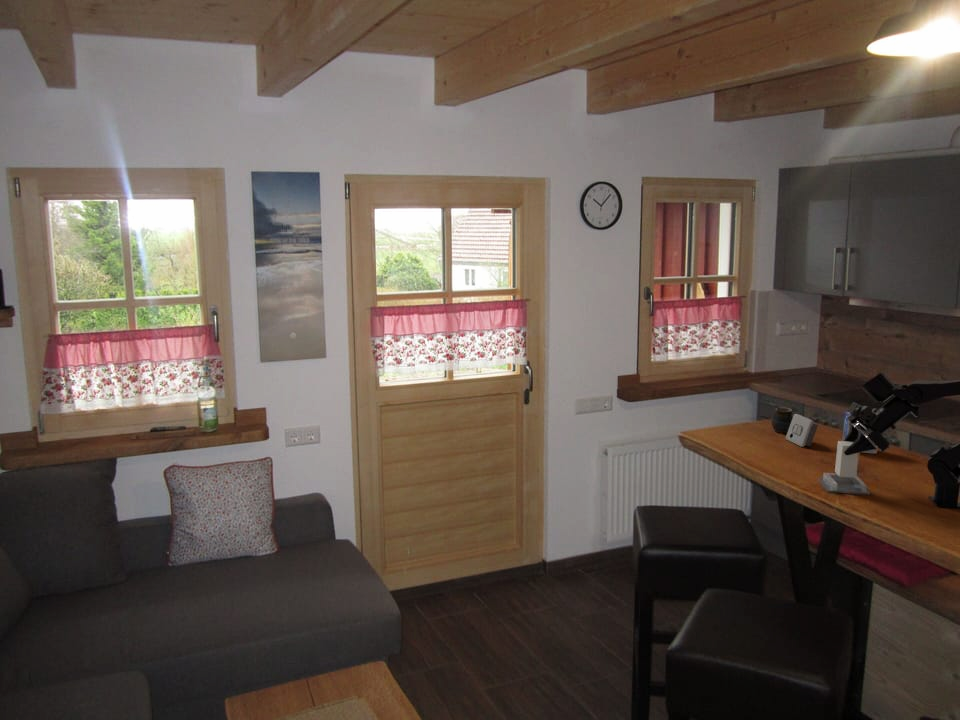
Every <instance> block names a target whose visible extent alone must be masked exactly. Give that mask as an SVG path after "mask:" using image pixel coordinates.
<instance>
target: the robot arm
mask: <svg viewBox="0 0 960 720" xmlns="http://www.w3.org/2000/svg"><path fill="white" fill-rule="evenodd" d="M861 389H862V390H863V391H865V393H866V394H868V396H869V397H870V398H871V399H872V400H873V401H874V402H876V403H882V404H883V403H884V404H883V405H882V406H881V407H879V409H878V407H877V408H876V407H874V408H871V407H869V406H867V405H861V404H858V403H857V402H855V401H852V403H851V404H850V405H849V407H848V409H847V411H846V412H849V413H850V414H851V415H850V416H849V417H848V418H847V419H848V420H849V421H850V422H851V423H852V424H851V423H849V425H850V431H849V433H848V435H847V436H846V438H845V439H844V441H850V442H853V443H852V444H851V445H850V446H849V447H848V448H847V450H846V451H845V452H844V454H845V455H851V454H855V453H859V452H860V453H861V452H864V451H869V450H874V449H875V450H876V449H877V450H878V449H879V450H880V451H881V452H882V453H884V452H885V451H887V450H888V449H889V448H890V441H888V440H887V439H886V438H885V437H884V436H883V435H884V434H885V433H886V432H887V431H889V430H890V429H891V430H892V431H893V430H895V429H896V428H897V427H896V426H895V425H896V424H898V423H899V422H901V421H902V420H903V419H904V418H905V417H907V416H908V415H909V414H911V415H912V416H914V418H917V417H919V410H920V406H916V405H921V404H925V403H929V402H932V401H934V400H938V399H941V398H945V397H946V398H947V397H955V396H960V379H955V380H953V379H952V380H946V381H939V380H926V379H923V380H922V379H918V380H914V381H913V382H911V383H909V384H899V385H897V386H896V384H894V383H893V382H892V380H890V379H889V378H888V375H886V373H884V372H883V371H881V372H879V373H878V374H877V375H875V376H874V377H873V378H871V379H869V380H868V381H867V382H865V383H863V385H862V386H861ZM892 396H893V397H892ZM891 397H892V398H891ZM890 398H891V399H890ZM889 399H890V400H889ZM887 400H889V401H887ZM886 401H887V402H886ZM885 402H886V403H885ZM863 406H864V407H863ZM876 446H877V448H876ZM929 457H930V459H928V460H927V462H926V465H927V470H928V472H929V473H930V474H931V475H932V479H933V482H934V493H933V496H927V499H928V500H929V501H931V502H932V504H934V505H935V506H936V507H938V508H955V509H960V502H959V498H960V466H959V465H960V442H959V443H957V444H954V445H951V444H950V443H949V442H946V444H944V445H943V446H941V448H939V449H936V450H934V452H932V454H930V455H929Z"/></svg>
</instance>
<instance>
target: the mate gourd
mask: <svg viewBox="0 0 960 720" xmlns="http://www.w3.org/2000/svg"><path fill="white" fill-rule="evenodd" d="M774 406H775V411H774V412H775V413H774V414H773V417H772V420H771V427H772V428H773V430H774V431H775V432H777V433H779V434H787V433H788V430H789V427H790V424H791V422H792V419H793V416H792V415H793V409H791V408H789V407H788V408H787V407H784V406H783V407H778V405H777V404H774Z"/></svg>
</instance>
